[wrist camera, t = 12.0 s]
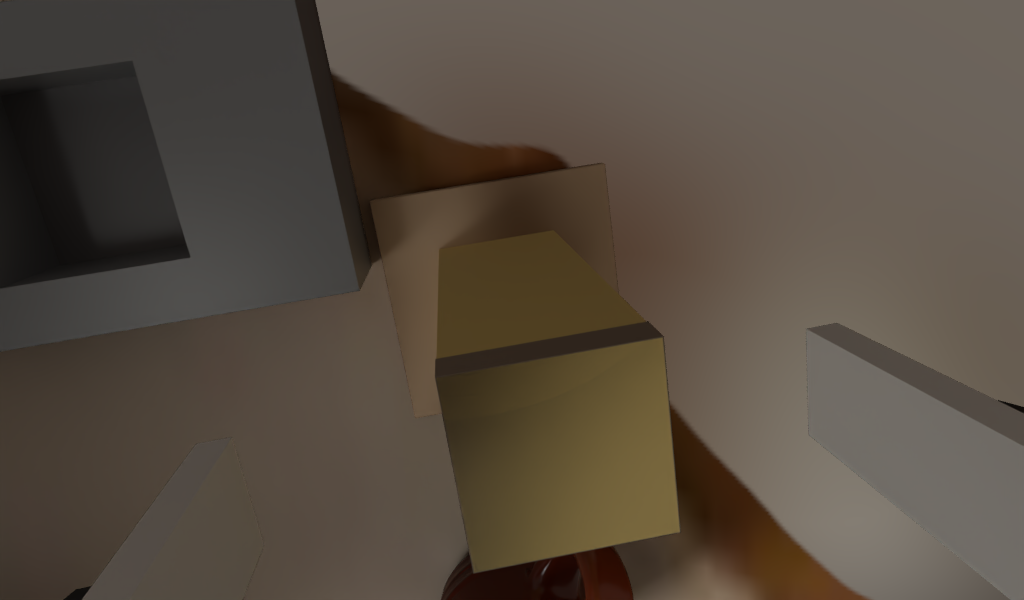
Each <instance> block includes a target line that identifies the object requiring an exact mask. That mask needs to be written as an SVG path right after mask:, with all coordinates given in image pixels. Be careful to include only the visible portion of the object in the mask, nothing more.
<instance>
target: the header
mask: <svg viewBox="0 0 1024 600" xmlns="http://www.w3.org/2000/svg"><path fill="white" fill-rule="evenodd" d="M371 266H372V263H371V258H370V254H369V249H368V244H367V240H366V235H365V230H364V226H363V221H362V216H361V212H360V207H359V202H358V198H357V193H356V189H355V184H354V179H353V175H352V170H351V165H350V161H349V156H348V151H347V147H346V142H345V137H344V133H343V128H342V123H341V119H340V114H339V109H338V105H337V100H336V95H335V91H334V86H333V82H332V77H331V72H330V68H329V63H328V58H327V54H326V49H325V44H324V40H323V35H322V31H321V26H320V22H319V16H318V12H317V7H316V3H315V0H11V1H4V2H0V352H1V351H7V350H13V349H19V348H25V347H30V346H36V345H42V344H48V343H54V342H60V341H66V340H72V339H78V338H84V337H90V336H95V335H101V334H107V333H113V332H119V331H125V330H131V329H137V328H143V327H149V326H154V325H160V324H166V323H172V322H178V321H184V320H190V319H196V318H202V317H208V316H213V315H219V314H225V313H231V312H237V311H243V310H249V309H255V308H261V307H267V306H273V305H278V304H284V303H290V302H296V301H302V300H308V299H314V298H320V297H326V296H332V295H337V294H343V293H349V292H355V291H360V289H361V287H362V285H363V283H364V281H365V278H366V276H367V274H368V272H369V270H370V268H371Z"/></svg>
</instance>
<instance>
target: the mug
mask: <svg viewBox="0 0 1024 600" xmlns="http://www.w3.org/2000/svg"><path fill="white" fill-rule="evenodd" d="M441 600H633V593H632V588H631V584H630V580H629V577H628V574H627V571H626V569H625V566H624V564H623V562H622V560H621V558H620V556H619V555H618V553H617V551H616V550H615V548H614V547H613V546H610V547H605V548H600V549H595V550H590V551H585V552H580V553H575V554H570V555H564V556H559V557H554V558H549V559H544V560H539V561H534V562H529V563H524V564H519V565H514V566H509V567H504V568H499V569H494V570H489V571H483V572H478V573H473V569H472V564H471V559H470V555H468V556H467V557H466V558H465V559H464V560H463V561H462V562H461V563H460V564H459V565H458V566H457V567H456V568H455V569H454V571H453V572H452V574H451V575H450V577H449V579H448V581H447V582H446V585H445V587H444V590H443V594H442V598H441Z"/></svg>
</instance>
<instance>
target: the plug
mask: <svg viewBox="0 0 1024 600" xmlns="http://www.w3.org/2000/svg"><path fill="white" fill-rule="evenodd" d="M435 381H436V386H437V391H438V396H439V401H440V406H441V411H442V416H443V421H444V427H445V432H446V437H447V442H448V447H449V452H450V457H451V462H452V467H453V472H454V477H455V482H456V487H457V493H458V498H459V503H460V508H461V513H462V518H463V523H464V528H465V533H466V538H467V543H468V548H469V554H470V559H471V564H472V569H473V573H478V572H483V571H489V570H494V569H499V568H504V567H509V566H514V565H519V564H524V563H529V562H534V561H539V560H544V559H549V558H554V557H559V556H564V555H570V554H575V553H580V552H585V551H590V550H595V549H600V548H605V547H610V546H615V545H620V544H625V543H630V542H635V541H640V540H646V539H651V538H656V537H661V536H666V535H671V534H676V533H681V529H680V517H679V506H678V494H677V483H676V472H675V460H674V449H673V437H672V426H671V415H670V403H669V392H668V382H667V381H668V380H667V369H666V359H665V346H664V336H663V335H661V333H660V332H659V331H658V330H656V328H654V327H653V326H652V325H651V324H650V323H649V322H648V321H647V322H646V321H645V320H644V319H643V318H642V317H641V316H640V315H639V314H638V313H637V312H636V311H635V310H634V309H633V308H632V307H631V306H630V305H629V304H628V303H627V302H626V301H625V300H624V299H623V298H622V297H621V296H620V295H619V294H618V293H617V292H616V291H615V290H614V289H613V288H612V287H611V286H610V285H609V284H608V283H607V282H606V281H605V280H604V279H603V278H602V277H601V276H600V275H599V274H598V273H597V272H596V271H595V270H593V269H592V268H591V267H590V266H589V265H588V264H587V263H586V262H585V261H584V260H583V259H582V258H581V257H580V256H579V255H578V254H577V253H576V252H575V251H574V250H573V249H572V248H571V247H570V246H569V245H568V244H567V243H566V242H565V241H564V240H563V239H562V238H561V237H560V236H559V235H558V234H557V233H556V232H555V231H554V230H552V231H546V232H540V233H534V234H528V235H522V236H516V237H510V238H504V239H498V240H492V241H486V242H480V243H474V244H468V245H462V246H456V247H450V248H444V249H439V271H438V314H437V358H436V359H435Z"/></svg>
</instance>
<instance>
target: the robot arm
mask: <svg viewBox="0 0 1024 600" xmlns="http://www.w3.org/2000/svg"><path fill="white" fill-rule="evenodd" d="M806 349H807V385H808V386H807V389H808V429H809V430H808V432H809V436H811V437H812V438H813V439H814V440H816V441H817V442H818V443H820V445H822V446H823V447H824V448H825V449H827V450H828V451H829V452H830V453H831V454H833V455H834V456H835V457H837V458H838V459H839V460H840V461H841V462H843V463H844V464H845V465H846V466H847V467H849V468H850V469H851V470H852V471H853V472H855V473H856V474H857V475H858V476H860V477H861V478H862V479H863V480H865V481H866V482H867V483H868V484H870V485H871V486H872V487H873V488H874V489H876V490H877V491H878V492H879V493H881V494H882V495H883V496H884V497H886V498H887V499H888V500H889V501H890V502H892V503H893V504H894V505H895V506H897V507H898V508H899V509H901V511H903V512H904V513H905V514H906V515H907V516H909V517H910V518H911V519H912V520H914V521H915V522H916V523H917V524H918V525H920V526H921V527H922V528H923V529H925V530H926V531H927V532H928V533H930V534H931V535H932V536H933V537H934V538H936V539H937V540H938V541H939V542H940V543H942V544H943V545H944V546H946V547H947V548H948V549H949V550H950V551H951V552H953V553H954V554H955V555H956V556H958V557H959V558H960V559H961V560H963V561H964V562H965V563H966V564H968V565H969V566H970V567H971V568H972V569H974V570H975V571H976V572H977V573H979V574H980V575H981V576H982V577H983V578H985V579H986V580H987V581H988V582H989V583H991V584H992V585H993V586H995V587H996V588H997V589H998V590H999V591H1001V592H1002V593H1003V594H1004V595H1005V596H1007V597H1008V598H1009V599H1010V600H1024V407H1021V406H1018V405H1014V404H1010V403H1006V402H1003V401H999V400H998V401H997V400H995V399H993V398H991V397H989V396H987V395H985V394H982V393H980V392H979V391H976V390H974V389H972V388H970V387H968V386H966V385H964V384H962V383H960V382H958V381H956V380H954V379H952V378H949V377H948V376H946V375H943V374H941V373H939V372H937V371H935V370H933V369H931V368H929V367H927V366H925V365H923V364H921V363H919V362H917V361H914V360H913V359H910V358H908V357H906V356H904V355H902V354H900V353H898V352H896V351H894V350H892V349H890V348H888V347H886V346H884V345H882V344H880V343H877V342H875V341H873V340H871V339H869V338H867V337H865V336H863V335H861V334H859V333H857V332H855V331H853V330H851V329H849V328H846V327H844V326H842V325H840V324H838V323H834V324H829V325H823V326H819V327H813V328H808V329H806ZM263 547H264V542H263V539H262V536H261V532H260V529H259V526H258V522H257V519H256V516H255V512H254V509H253V506H252V502H251V499H250V496H249V492H248V489H247V485H246V482H245V479H244V475H243V472H242V469H241V465H240V462H239V459H238V455H237V452H236V449H235V445H234V442H233V439H232V437H229V438H224V439H219V440H214V441H208V442H203V443H198V444H195V446H194V447H193V449H192V450H191V451H190V453H189V454H188V455H187V457H186V458H185V459H184V461H183V462H182V464H181V465H180V466H179V468H178V469H177V470H176V472H175V473H174V474H173V476H172V477H171V479H170V480H169V481H168V483H167V484H166V485H165V487H164V488H163V489H162V491H161V492H160V494H159V495H158V496H157V498H156V499H155V500H154V502H153V503H152V505H151V506H150V507H149V509H148V510H147V511H146V513H145V514H144V515H143V517H142V518H141V520H140V521H139V522H138V524H137V525H136V526H135V528H134V529H133V530H132V532H131V533H130V535H129V536H128V537H127V539H126V540H125V541H124V543H123V544H122V545H121V547H120V548H119V550H118V551H117V552H116V554H115V555H114V556H113V558H112V559H111V561H110V562H109V563H108V565H107V566H106V567H105V569H104V570H103V571H102V573H101V574H100V576H99V577H98V578H97V580H96V581H95V582H94V584H93V585H92V586H91V587H86V588H81V589H76V590H75V591H74V592H72V593H71V594H70V595H69V596H67V597H66V598H65V599H64V600H243V598H244V595H245V593H246V590H247V587H248V585H249V582H250V580H251V577H252V575H253V572H254V570H255V567H256V565H257V562H258V559H259V557H260V554H261V552H262V549H263Z"/></svg>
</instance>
